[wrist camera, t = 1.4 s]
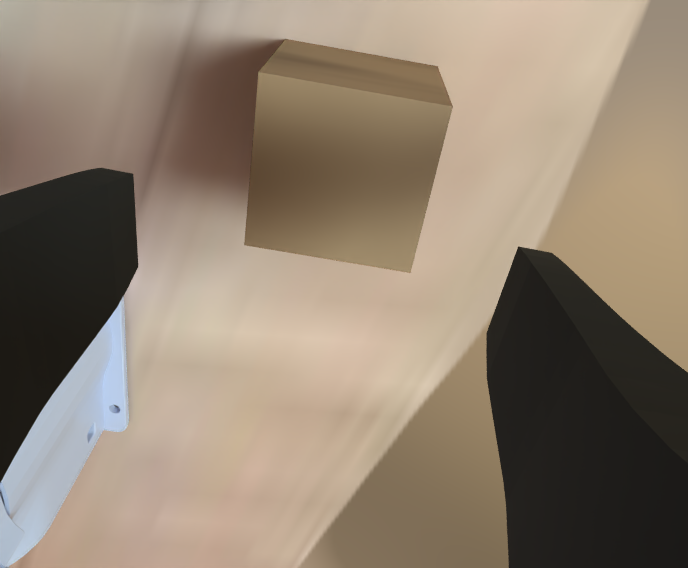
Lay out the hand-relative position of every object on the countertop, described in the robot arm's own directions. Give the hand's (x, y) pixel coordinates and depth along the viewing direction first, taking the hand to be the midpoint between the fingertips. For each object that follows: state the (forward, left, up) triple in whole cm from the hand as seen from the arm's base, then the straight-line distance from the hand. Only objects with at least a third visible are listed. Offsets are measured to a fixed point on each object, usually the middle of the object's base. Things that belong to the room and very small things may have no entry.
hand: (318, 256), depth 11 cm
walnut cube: (-1, 0, -11) cm, 11 cm away
